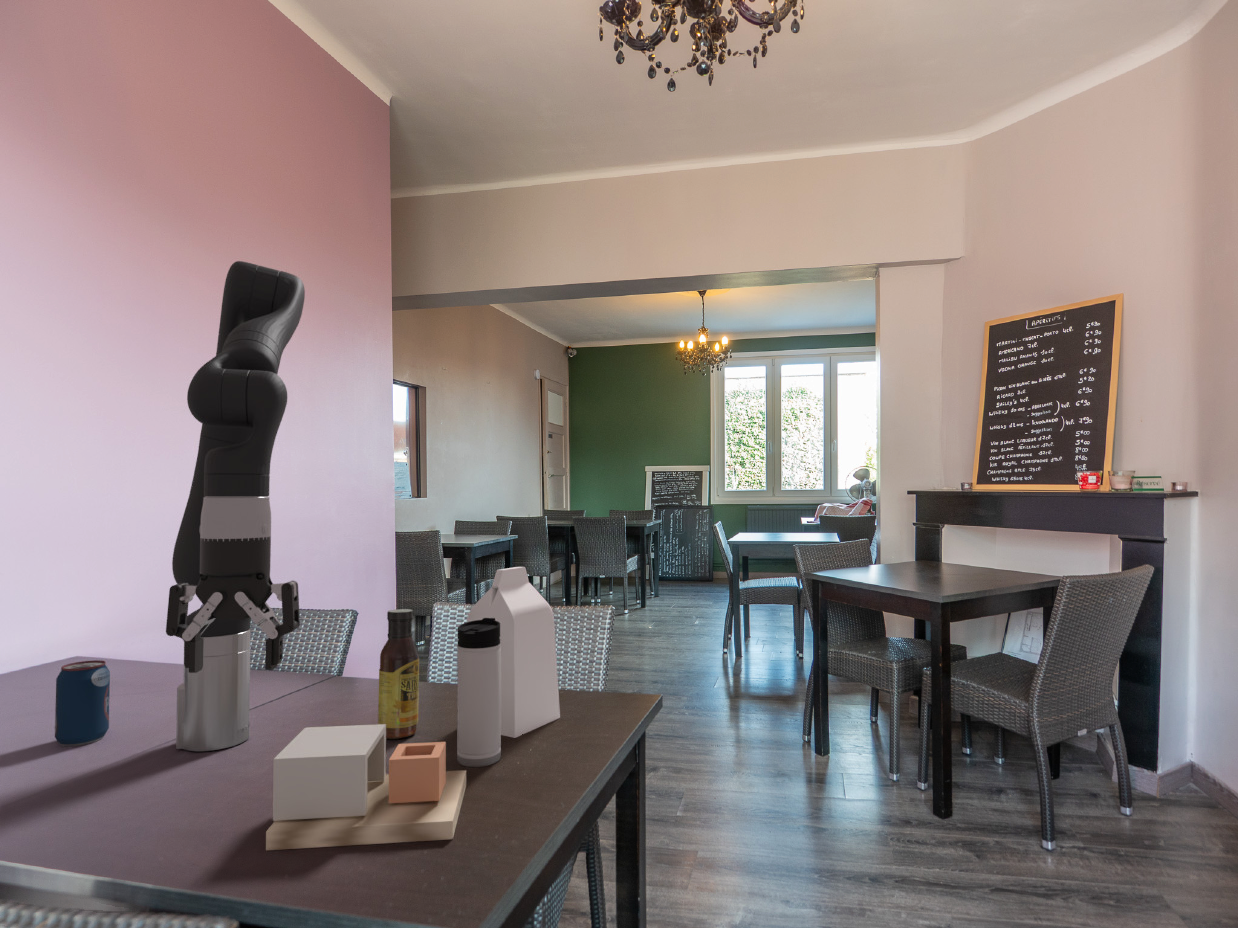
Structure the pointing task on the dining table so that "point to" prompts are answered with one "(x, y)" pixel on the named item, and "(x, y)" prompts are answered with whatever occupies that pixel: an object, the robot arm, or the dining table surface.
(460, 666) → the travel mug
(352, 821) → the board
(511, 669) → the milk
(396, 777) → the ring block
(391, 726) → the sauce bottle
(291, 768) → the cover
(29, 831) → the dining table surface
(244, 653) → the robot arm
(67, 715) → the soda can
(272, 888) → the dining table surface
